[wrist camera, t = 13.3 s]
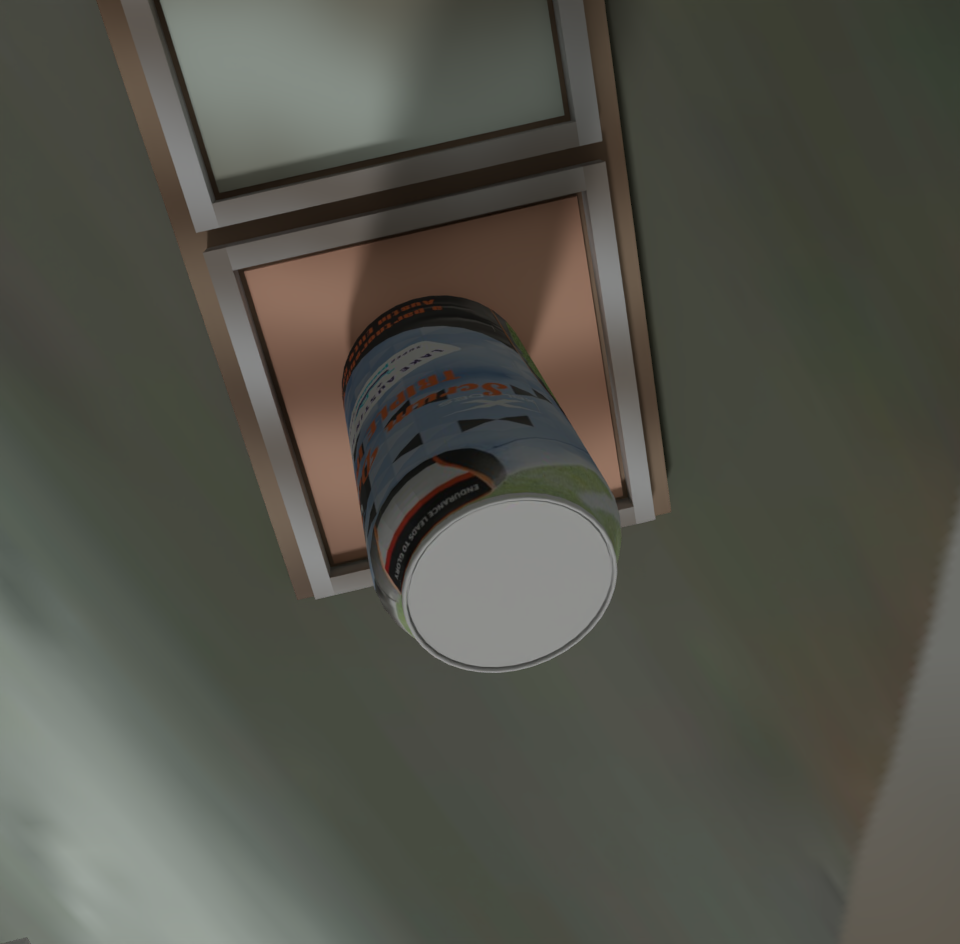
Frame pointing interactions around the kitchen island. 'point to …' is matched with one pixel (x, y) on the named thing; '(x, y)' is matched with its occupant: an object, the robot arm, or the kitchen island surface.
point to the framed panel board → (393, 219)
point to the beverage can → (474, 489)
